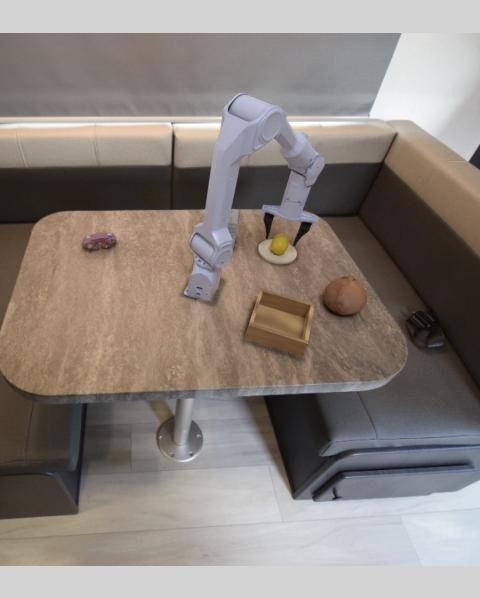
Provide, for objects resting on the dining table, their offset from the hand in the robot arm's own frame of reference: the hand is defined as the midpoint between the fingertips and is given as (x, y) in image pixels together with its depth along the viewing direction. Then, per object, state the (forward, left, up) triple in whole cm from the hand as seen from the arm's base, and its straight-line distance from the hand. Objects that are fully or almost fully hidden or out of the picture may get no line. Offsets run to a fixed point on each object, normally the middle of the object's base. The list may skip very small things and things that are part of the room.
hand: (280, 240), depth 100 cm
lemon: (0, 0, -4) cm, 4 cm away
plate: (0, 0, -4) cm, 4 cm away
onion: (-16, -18, -4) cm, 25 cm away
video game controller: (-19, +48, -5) cm, 52 cm away
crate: (-29, -5, -4) cm, 30 cm away
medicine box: (-1, +15, -4) cm, 16 cm away
